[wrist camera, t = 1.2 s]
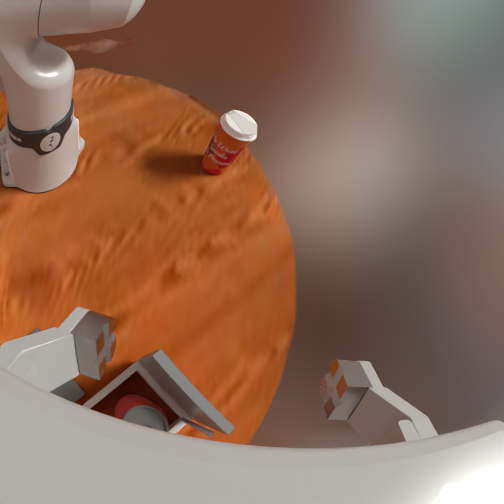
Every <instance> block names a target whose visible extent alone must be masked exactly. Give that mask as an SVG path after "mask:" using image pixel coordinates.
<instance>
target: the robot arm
mask: <svg viewBox="0 0 504 504" xmlns="http://www.w3.org/2000/svg"><path fill="white" fill-rule="evenodd" d="M144 2H145V0H0V76H1V78H2V80H3V83H4V87H5V93H6V99H7V105H8V115H7V117H6V126H5V127H4V128H3V129H2V130H1V131H0V159H1V171H2V181H3V185H4V186H6V187H18V188H21V189H23V190H25V191H28V192H45V191H49V190H52V189H54V188H56V187H58V186H59V185H61V184H62V183H64V182H65V181H66V180H67V179H68V178H69V177H70V176H71V174H72V173H73V171H74V169H75V167H76V164H77V160H78V156H79V154H80V153H81V151H82V150H83V148H84V146H85V142H84V140H83V139H82V138H81V137H80V136H79V121H78V119H76V118H75V116H74V115H73V114H74V105H73V99H72V88H73V79H74V64H73V61H72V59H71V58H70V56H69V55H68V54H67V53H66V52H65V51H64V50H63V49H61V48H59V47H57V46H54V45H52V44H50V43H48V42H47V41H45V40H44V39H43V37H42V36H49V35H59V34H72V33H89V32H94V31H99V30H106V29H111V28H116V27H121V26H123V25H125V24H126V23H127V22H129V21H130V20H131V19H132V18H133V17H134V16H135V15H136V14H137V13H138V11H139V10H140V9H141V7H142V5H143V4H144ZM8 174H9V175H8ZM6 175H8V176H6ZM115 328H116V324H115V319H114V318H113V317H110V316H106V315H103V314H100V313H97V312H94V311H91V310H88V309H85V308H82V307H77V308H76V309H75V310H74V311H73V312H72V313H71V314H70V315H69V316H68V317H67V319H66V320H65V321H64V322H63V323H62V324H61V325H60V326H59V327H58V328H55V327H54V328H51V329H47V330H44V331H41V332H37V333H34V334H31V335H27V336H24V337H21V338H17V339H14V340H11V341H7V342H4V343H3V344H2V345H1V346H0V504H504V423H503V422H500V421H497V420H495V421H490V422H487V423H484V424H481V425H477V426H474V427H471V428H467V429H463V430H459V431H456V432H451V433H447V434H443V435H438V434H437V433H436V431H435V429H434V427H433V425H432V424H431V422H430V420H429V418H428V417H427V416H426V415H424V414H423V413H421V412H420V411H419V410H417V409H416V408H414V407H413V406H411V405H410V404H409V403H407V402H406V401H404V400H403V399H402V398H400V397H399V396H397V395H396V394H394V393H393V392H391V391H390V390H389V389H387V388H383V386H382V384H381V382H380V380H379V378H378V376H377V374H376V372H375V371H374V369H373V367H372V365H371V363H369V362H368V361H367V362H366V361H344V360H333V361H332V362H331V364H330V366H329V369H330V373H328V374H327V375H325V376H324V378H323V380H322V383H321V389H320V390H321V397H322V399H323V400H324V401H325V402H326V405H325V407H324V408H325V411H326V415H327V418H328V420H329V419H331V420H348V422H349V423H350V424H351V425H352V426H353V428H355V430H357V432H358V433H359V434H360V435H361V436H362V437H363V438H364V439H365V440H366V441H367V442H368V443H369V444H370V446H363V447H349V448H321V449H320V448H315V449H314V448H307V449H306V448H278V447H263V446H252V445H242V444H233V443H226V442H219V441H212V440H206V439H200V438H194V437H189V436H184V435H179V434H175V433H170V432H166V431H161V430H157V429H153V428H149V427H146V426H142V425H138V424H135V423H131V422H128V421H125V420H121V419H118V418H115V417H112V416H109V415H106V414H103V413H100V412H97V411H94V410H92V409H89V408H86V407H84V406H81V405H78V404H76V403H73V402H71V401H69V400H66V399H64V398H61V397H59V396H57V395H55V394H52V393H50V391H52V390H54V389H55V388H57V387H59V386H61V385H62V384H64V383H66V382H68V381H69V380H71V379H73V378H75V377H76V376H78V375H79V374H82V375H85V376H88V377H91V378H95V379H98V380H101V378H102V376H103V374H104V372H105V370H106V363H107V362H109V361H111V359H112V357H113V355H114V352H115V348H116V337H115V335H114V334H113V331H114V330H115Z"/></svg>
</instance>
